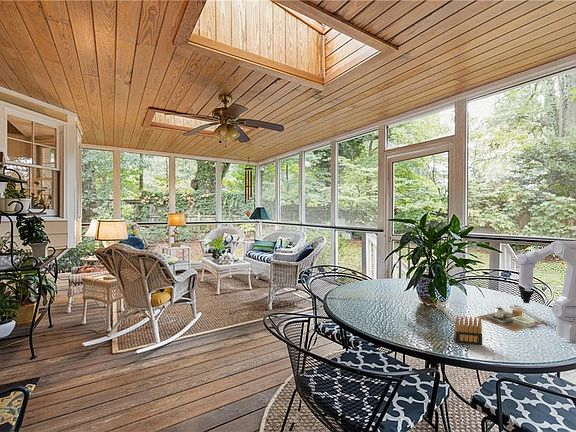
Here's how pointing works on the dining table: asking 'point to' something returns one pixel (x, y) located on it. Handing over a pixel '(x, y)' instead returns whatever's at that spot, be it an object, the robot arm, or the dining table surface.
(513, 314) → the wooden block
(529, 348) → the dining table surface
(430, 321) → the dining table surface
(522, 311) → the adjustable wrench
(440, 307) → the caliper
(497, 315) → the peg
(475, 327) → the ammunition clip
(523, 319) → the tray
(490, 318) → the holder
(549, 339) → the dining table surface
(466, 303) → the dining table surface
